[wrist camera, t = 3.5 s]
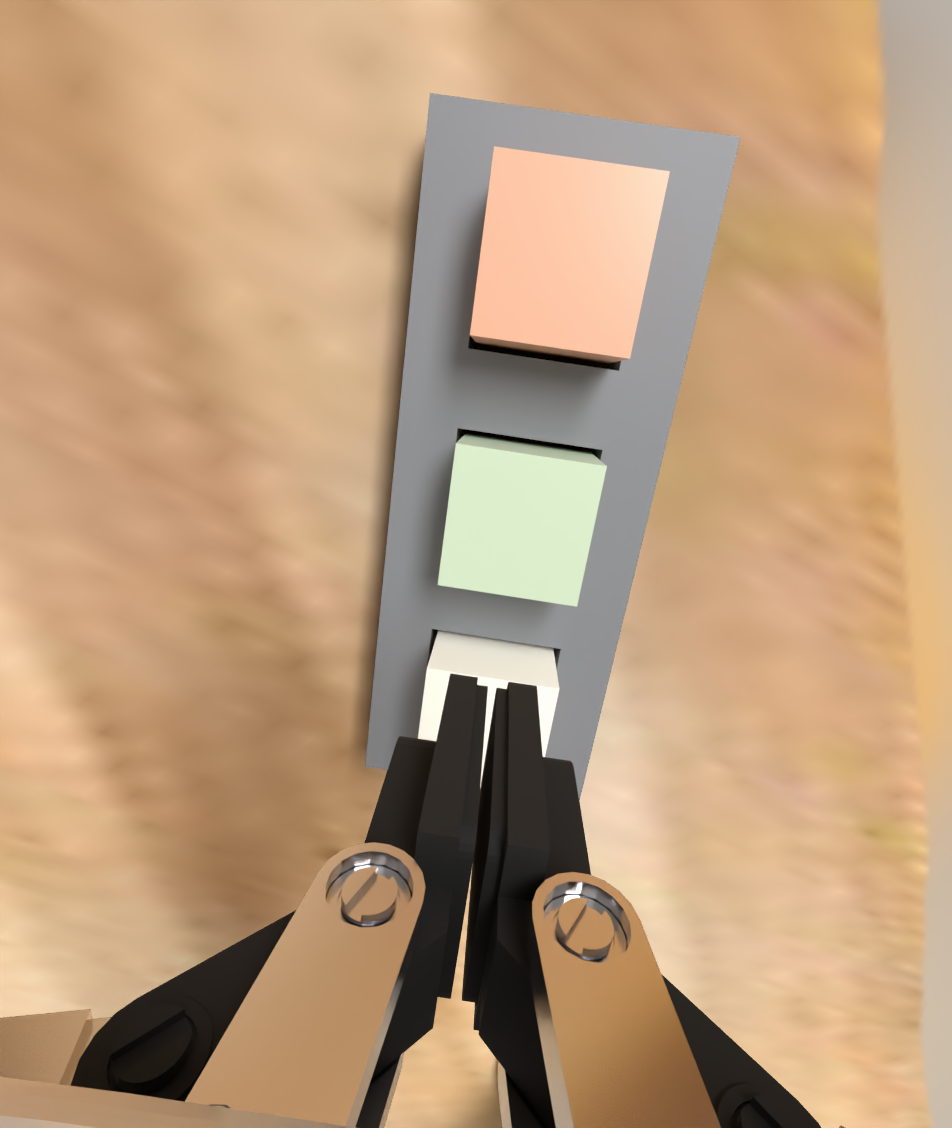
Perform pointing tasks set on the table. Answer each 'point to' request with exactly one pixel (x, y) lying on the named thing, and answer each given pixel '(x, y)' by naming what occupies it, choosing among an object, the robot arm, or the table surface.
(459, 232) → the key console
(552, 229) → the terracotta key
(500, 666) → the cream key
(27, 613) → the table surface
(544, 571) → the sage key
